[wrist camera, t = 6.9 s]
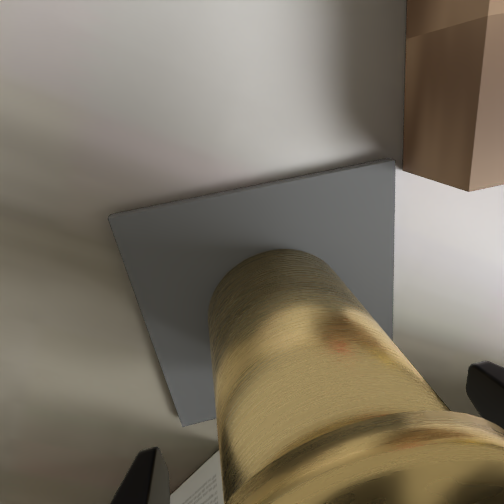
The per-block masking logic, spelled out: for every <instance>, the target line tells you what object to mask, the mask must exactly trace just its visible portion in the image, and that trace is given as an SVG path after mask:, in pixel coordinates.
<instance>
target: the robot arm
mask: <svg viewBox="0 0 504 504" xmlns="http://www.w3.org/2000/svg"><path fill="white" fill-rule="evenodd" d="M466 392H467V395H468V397H469V399H470V400H471V402H472V403H473V405H474V406H475V408H476V409H477V411H478V412H479V414H480V415H481V417H482V418H484V419H486V420H488V421H490V422H493V423H495V424H497V425H498V426H500V427H501V428H502V429H504V368H503V367H501V366H499V365H497V364H494V363H492V362H489V361H481V362H478V363H474V364H471V365H470V366H469V369H468V376H467V383H466ZM110 504H170V487H169V473H168V468H167V466H166V463H165V461H164V459H163V456H162V454H161V451H160V449H159V448H158V447H151V448H148V449H144V450H141V451H140V452H139V453H138V454H137V456H136V458H135V460H134V461H133V463H132V465H131V467H130V469H129V471H128V472H127V474H126V476H125V478H124V480H123V481H122V483H121V485H120V487H119V489H118V490H117V492H116V494H115V496H114V498H113V500H112V501H111V503H110Z"/></svg>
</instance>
